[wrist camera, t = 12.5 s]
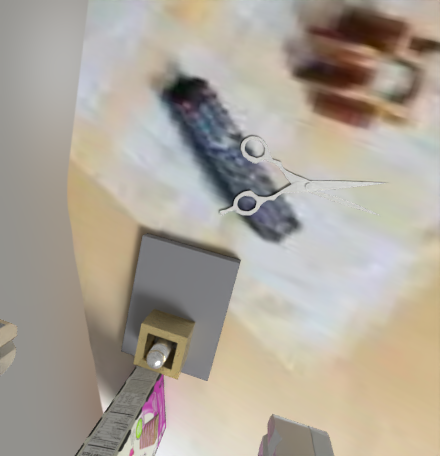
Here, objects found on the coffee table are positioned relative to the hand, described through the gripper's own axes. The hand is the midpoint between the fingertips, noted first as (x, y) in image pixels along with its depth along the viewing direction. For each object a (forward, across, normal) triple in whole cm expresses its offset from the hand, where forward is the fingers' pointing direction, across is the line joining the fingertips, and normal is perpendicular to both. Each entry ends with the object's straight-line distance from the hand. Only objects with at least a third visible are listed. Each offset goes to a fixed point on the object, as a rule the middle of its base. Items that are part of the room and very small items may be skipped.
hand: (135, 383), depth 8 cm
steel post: (+27, +5, +19) cm, 33 cm away
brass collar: (+27, +5, +19) cm, 33 cm away
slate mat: (+29, +5, +15) cm, 33 cm away
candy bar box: (+28, +6, +32) cm, 43 cm away
